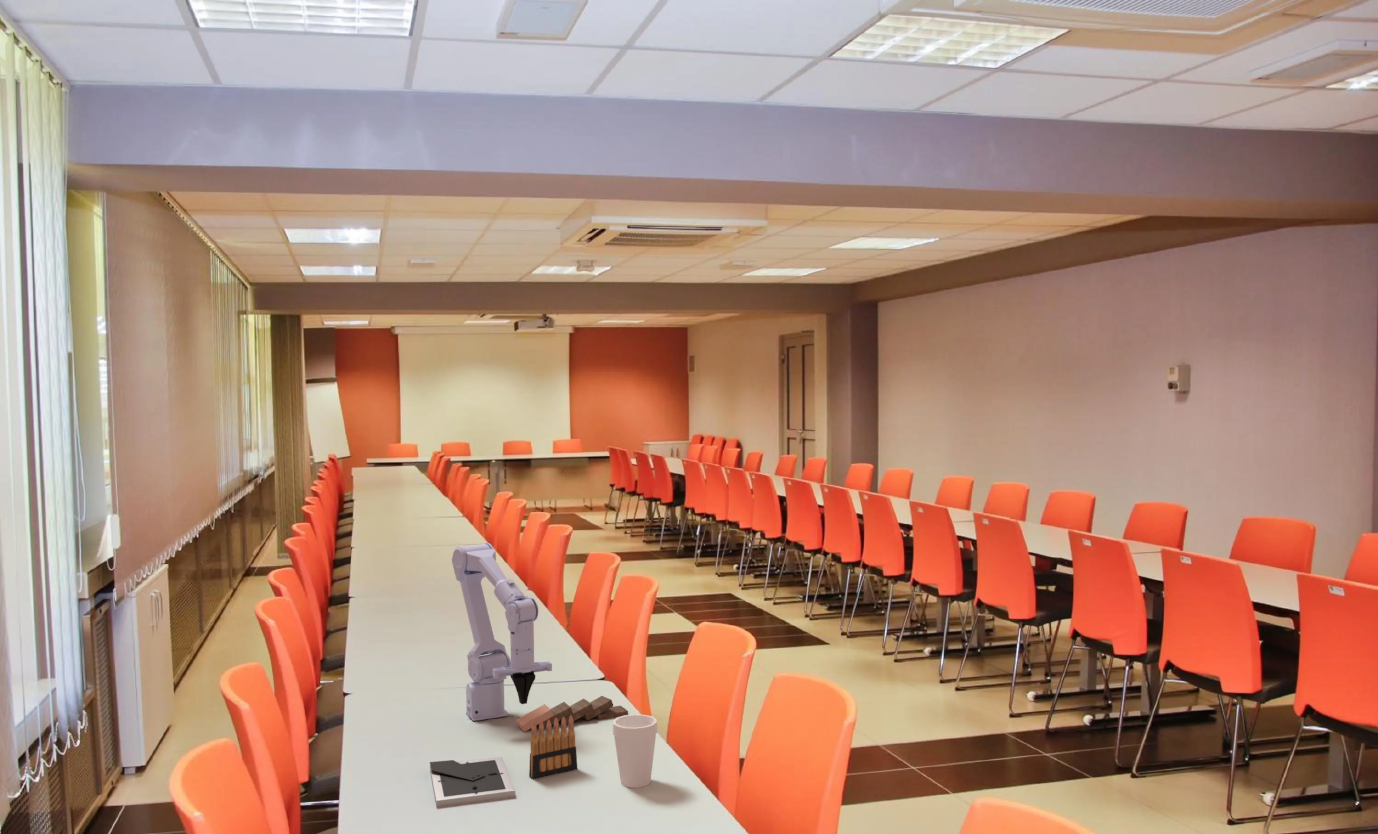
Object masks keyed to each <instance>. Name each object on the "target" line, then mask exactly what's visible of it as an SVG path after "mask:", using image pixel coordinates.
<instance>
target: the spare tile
mask: <svg viewBox="0 0 1378 834" xmlns="http://www.w3.org/2000/svg"><path fill="white" fill-rule="evenodd" d="M552 716H553V713H552V711H551V708H550V707H549V706H547V705H546V704H544V703H543V704H542V705H540V706H539V707H537V708H535V709H533V710H531V711H529V712H528V713H525V714H524V715H522V716H520V717H519V718H517V719H515V720H516V723H517V726H518V727H519V728H520V729H521V730H522V731H523V732H527V731H529V730H530V729H531V730H532V725H533V723H534V722H535V724H536V726H538V725H540V722H541V721H542V722H543V721H545V720H547V719H549V718H551V717H552Z"/></svg>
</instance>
